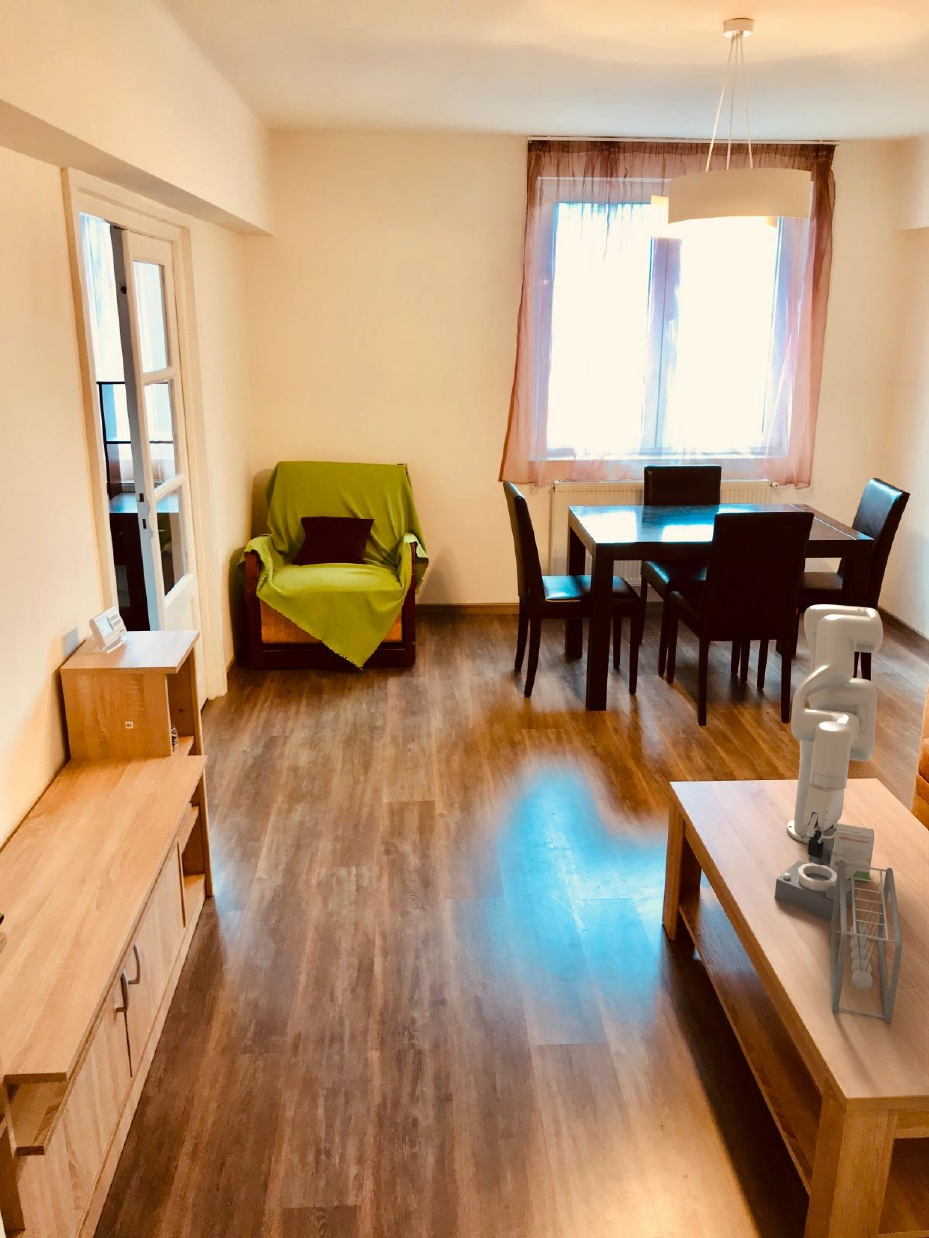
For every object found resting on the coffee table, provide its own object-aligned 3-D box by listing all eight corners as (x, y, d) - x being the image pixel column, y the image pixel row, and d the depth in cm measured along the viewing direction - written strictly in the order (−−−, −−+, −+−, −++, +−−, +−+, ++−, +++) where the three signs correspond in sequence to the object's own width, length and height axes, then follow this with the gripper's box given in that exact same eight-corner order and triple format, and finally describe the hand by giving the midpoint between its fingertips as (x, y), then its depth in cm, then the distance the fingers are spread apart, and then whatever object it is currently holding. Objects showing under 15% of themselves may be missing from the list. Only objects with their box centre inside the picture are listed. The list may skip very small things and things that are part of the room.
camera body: (797, 878, 230) (799, 852, 228) (854, 902, 221) (858, 875, 219) (774, 897, 223) (777, 870, 221) (833, 922, 213) (836, 895, 211)
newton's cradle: (830, 926, 212) (839, 855, 207) (882, 936, 209) (892, 863, 203) (831, 1016, 185) (841, 936, 180) (890, 1028, 182) (902, 947, 176)
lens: (813, 851, 221) (817, 820, 219) (835, 859, 218) (839, 827, 216) (803, 859, 218) (807, 827, 216) (825, 868, 215) (829, 835, 212)
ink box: (830, 876, 231) (835, 832, 227) (829, 865, 236) (835, 822, 232) (868, 882, 228) (874, 838, 225) (867, 871, 233) (873, 827, 229)
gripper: (829, 760, 221) (821, 832, 226) (794, 784, 209) (786, 859, 214) (861, 770, 216) (852, 843, 221) (827, 795, 204) (819, 872, 209)
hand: (820, 850), depth 217 cm, fingers closed on lens, 4 cm apart
